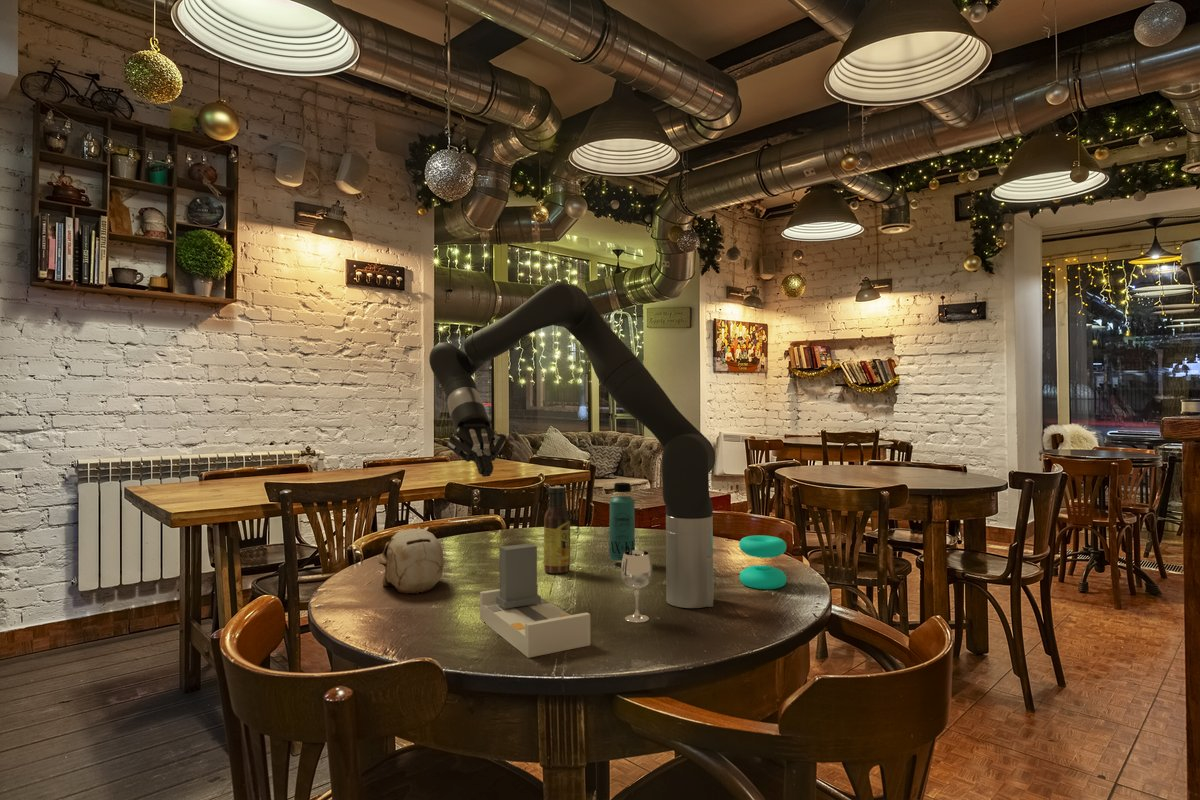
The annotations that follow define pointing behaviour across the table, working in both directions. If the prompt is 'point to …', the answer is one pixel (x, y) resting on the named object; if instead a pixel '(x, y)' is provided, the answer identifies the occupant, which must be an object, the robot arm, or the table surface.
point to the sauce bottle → (556, 533)
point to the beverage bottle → (621, 523)
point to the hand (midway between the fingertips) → (487, 474)
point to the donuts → (763, 574)
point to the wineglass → (636, 577)
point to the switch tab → (518, 576)
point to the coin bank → (412, 561)
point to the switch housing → (535, 625)
